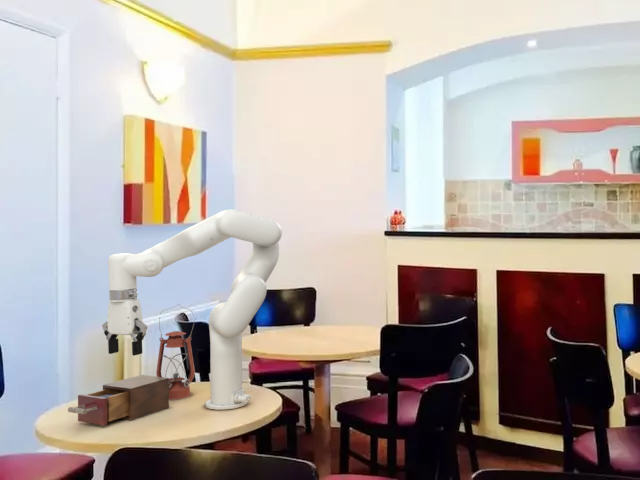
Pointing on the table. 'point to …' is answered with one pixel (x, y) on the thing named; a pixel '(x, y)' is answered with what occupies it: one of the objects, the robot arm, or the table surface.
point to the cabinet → (143, 394)
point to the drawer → (102, 406)
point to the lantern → (175, 384)
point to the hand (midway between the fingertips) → (125, 353)
